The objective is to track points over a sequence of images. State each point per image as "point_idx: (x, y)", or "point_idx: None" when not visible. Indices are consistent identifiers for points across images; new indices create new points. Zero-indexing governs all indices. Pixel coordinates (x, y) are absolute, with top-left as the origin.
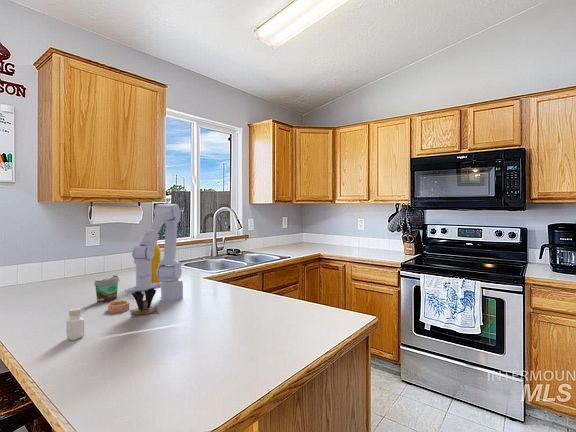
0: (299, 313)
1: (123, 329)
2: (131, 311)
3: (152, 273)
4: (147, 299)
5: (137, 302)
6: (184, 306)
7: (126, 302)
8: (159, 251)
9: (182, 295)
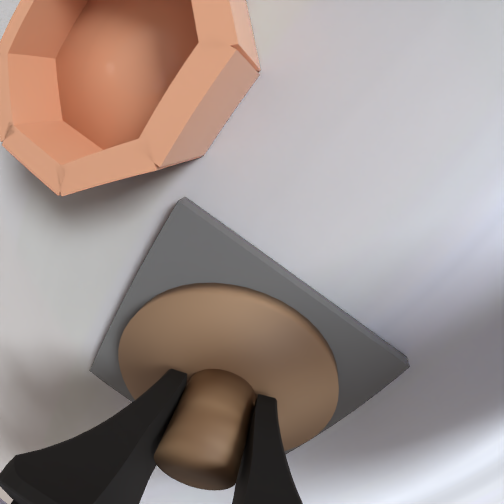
0: None
1: (36, 404)
2: (157, 262)
3: None
4: (241, 486)
5: (129, 420)
6: (459, 464)
7: (204, 42)
8: None
9: None
